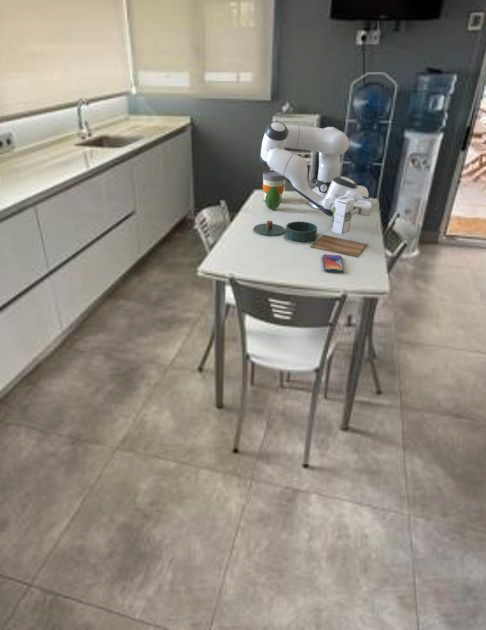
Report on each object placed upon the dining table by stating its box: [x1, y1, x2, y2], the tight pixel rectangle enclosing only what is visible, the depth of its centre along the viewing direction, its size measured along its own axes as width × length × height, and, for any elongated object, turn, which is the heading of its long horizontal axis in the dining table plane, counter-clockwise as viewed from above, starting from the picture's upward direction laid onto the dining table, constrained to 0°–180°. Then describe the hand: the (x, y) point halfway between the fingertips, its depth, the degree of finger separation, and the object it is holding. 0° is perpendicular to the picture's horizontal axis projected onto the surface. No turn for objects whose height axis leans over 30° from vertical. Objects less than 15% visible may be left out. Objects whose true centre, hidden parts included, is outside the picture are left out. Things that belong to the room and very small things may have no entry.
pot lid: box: [252, 220, 286, 237], centre depth 207 cm, size 15×15×5 cm
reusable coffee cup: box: [262, 169, 287, 202], centre depth 245 cm, size 13×13×15 cm
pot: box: [284, 220, 318, 244], centre depth 201 cm, size 14×14×5 cm
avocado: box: [264, 186, 281, 211], centre depth 233 cm, size 8×8×12 cm
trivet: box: [311, 234, 367, 258], centre depth 195 cm, size 15×20×1 cm
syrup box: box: [330, 196, 354, 236], centre depth 188 cm, size 6×6×14 cm
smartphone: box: [322, 253, 345, 273], centre depth 178 cm, size 7×15×1 cm, turn 171°
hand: (342, 211), depth 186 cm, fingers closed on syrup box, 6 cm apart
